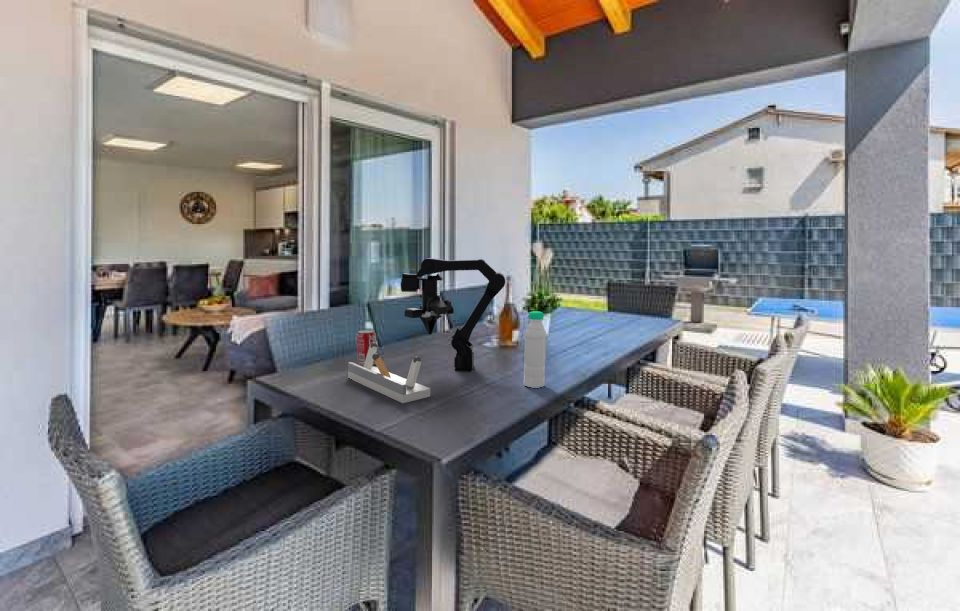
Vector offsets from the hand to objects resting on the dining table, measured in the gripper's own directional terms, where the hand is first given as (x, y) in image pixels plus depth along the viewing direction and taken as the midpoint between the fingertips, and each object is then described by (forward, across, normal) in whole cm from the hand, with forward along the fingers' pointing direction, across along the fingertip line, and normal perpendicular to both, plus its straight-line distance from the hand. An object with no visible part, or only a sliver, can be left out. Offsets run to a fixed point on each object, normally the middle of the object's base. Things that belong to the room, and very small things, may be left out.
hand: (429, 334), depth 181 cm
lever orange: (+10, -24, -9) cm, 28 cm away
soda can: (+13, -15, +20) cm, 28 cm away
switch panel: (+13, -24, -9) cm, 29 cm away
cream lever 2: (+10, -24, -22) cm, 34 cm away
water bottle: (+13, +14, -40) cm, 44 cm away
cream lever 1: (+10, -24, +4) cm, 26 cm away
